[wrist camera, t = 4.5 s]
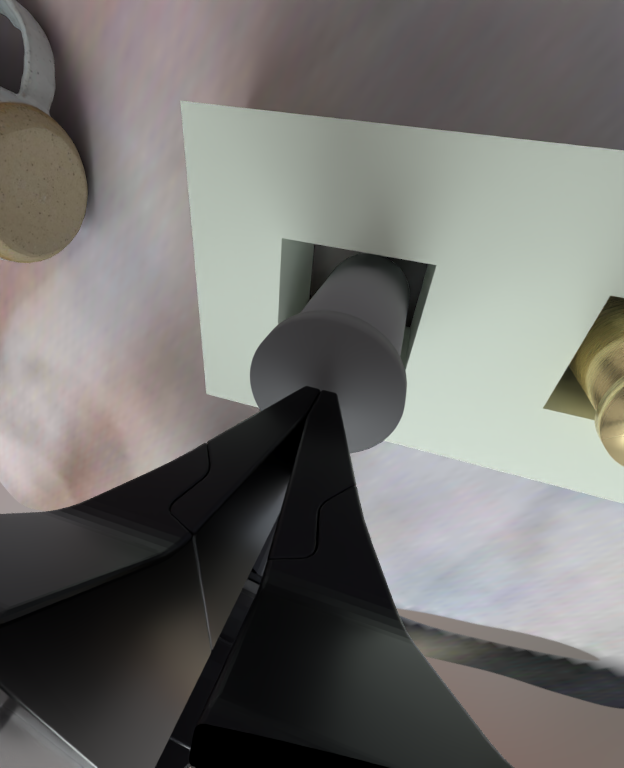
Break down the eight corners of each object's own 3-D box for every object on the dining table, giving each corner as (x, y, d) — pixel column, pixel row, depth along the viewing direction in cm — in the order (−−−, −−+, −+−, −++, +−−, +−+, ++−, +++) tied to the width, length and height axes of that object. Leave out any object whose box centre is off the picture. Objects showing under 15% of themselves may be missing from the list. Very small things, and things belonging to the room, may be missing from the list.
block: (678, 451, 19) (745, 535, 15) (246, 349, 23) (206, 394, 19) (929, 190, 12) (1187, 213, 8) (244, 111, 16) (180, 100, 12)
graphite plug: (403, 349, 16) (385, 469, 10) (315, 330, 17) (249, 432, 11) (429, 255, 14) (425, 340, 8) (325, 238, 15) (249, 303, 9)
